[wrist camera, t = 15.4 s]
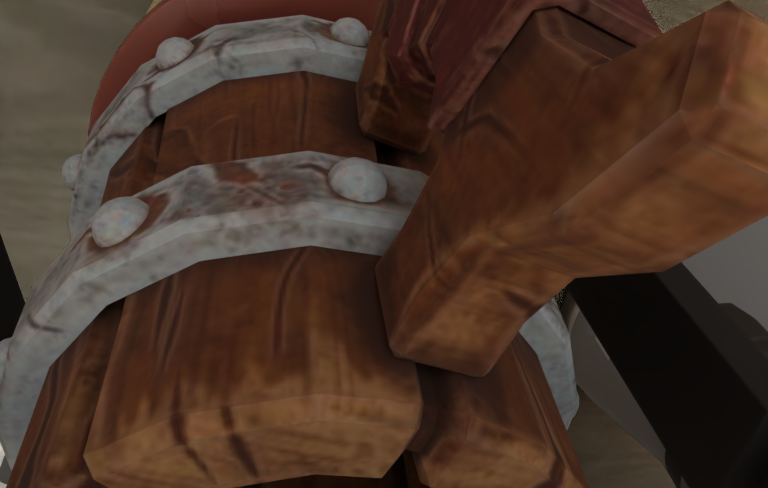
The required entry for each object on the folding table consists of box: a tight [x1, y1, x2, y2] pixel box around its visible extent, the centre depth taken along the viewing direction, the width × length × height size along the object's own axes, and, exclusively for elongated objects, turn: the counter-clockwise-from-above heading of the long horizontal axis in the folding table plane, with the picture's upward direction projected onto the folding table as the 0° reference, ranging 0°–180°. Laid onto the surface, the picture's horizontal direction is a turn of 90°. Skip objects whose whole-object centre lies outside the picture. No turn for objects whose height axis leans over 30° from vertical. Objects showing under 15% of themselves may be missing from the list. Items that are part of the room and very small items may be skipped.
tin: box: [88, 0, 380, 137], centre depth 22 cm, size 12×12×8 cm
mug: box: [0, 0, 768, 488], centre depth 13 cm, size 12×14×15 cm
